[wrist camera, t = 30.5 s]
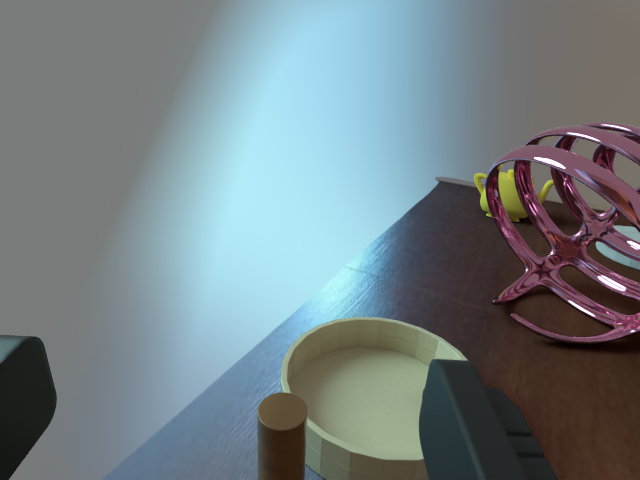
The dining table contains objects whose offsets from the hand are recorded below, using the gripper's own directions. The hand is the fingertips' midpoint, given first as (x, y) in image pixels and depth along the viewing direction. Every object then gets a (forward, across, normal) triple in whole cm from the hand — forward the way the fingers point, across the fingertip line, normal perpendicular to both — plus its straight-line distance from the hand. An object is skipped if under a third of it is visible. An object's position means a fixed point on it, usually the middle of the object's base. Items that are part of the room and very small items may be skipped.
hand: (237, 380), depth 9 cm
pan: (+25, -9, +26) cm, 37 cm away
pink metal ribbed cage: (+44, -38, +26) cm, 64 cm away
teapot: (+87, -47, +26) cm, 103 cm away
